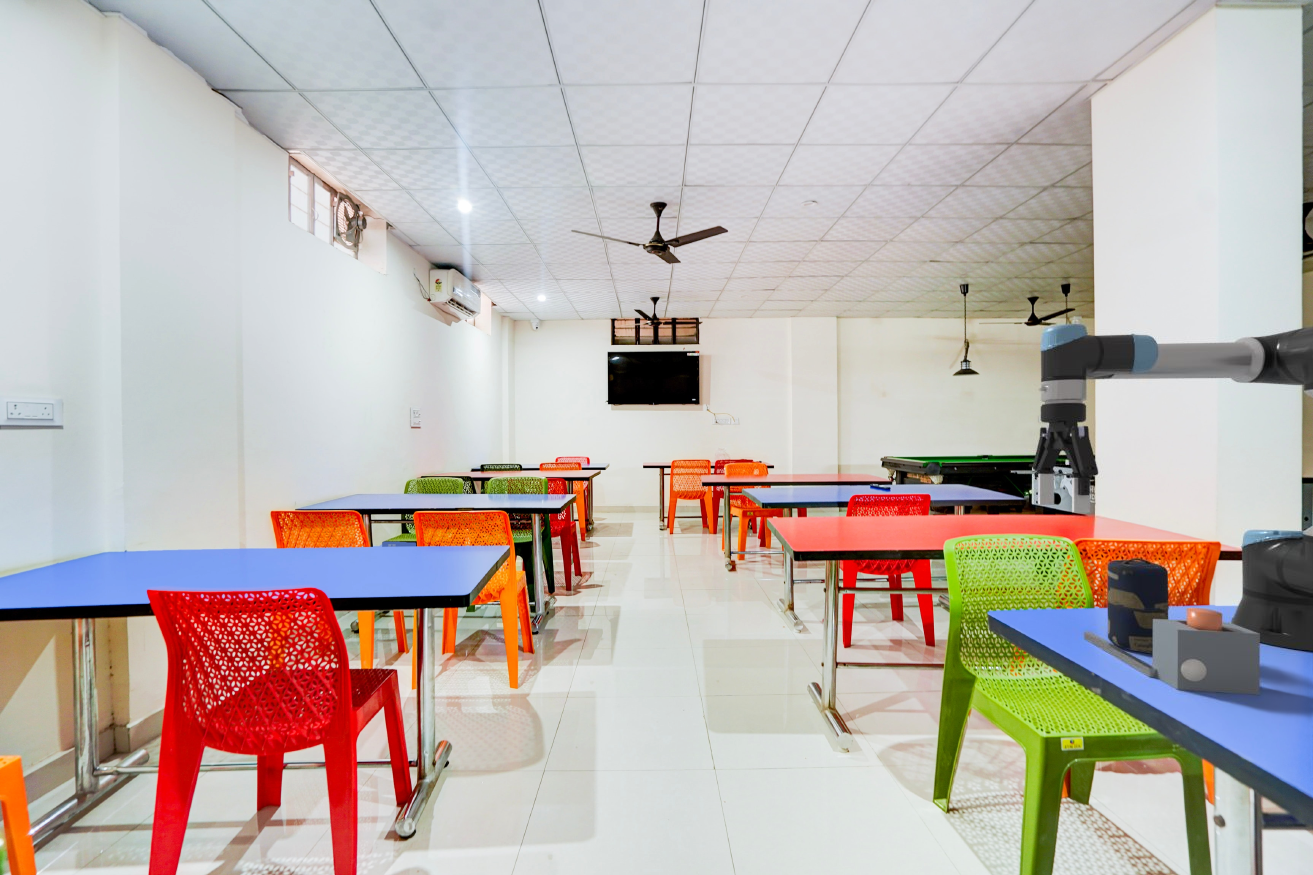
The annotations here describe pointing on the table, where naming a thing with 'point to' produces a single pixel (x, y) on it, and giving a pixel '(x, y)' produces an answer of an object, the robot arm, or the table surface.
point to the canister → (1135, 602)
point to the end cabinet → (1207, 657)
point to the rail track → (1121, 654)
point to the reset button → (1204, 619)
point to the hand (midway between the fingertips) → (1062, 508)
